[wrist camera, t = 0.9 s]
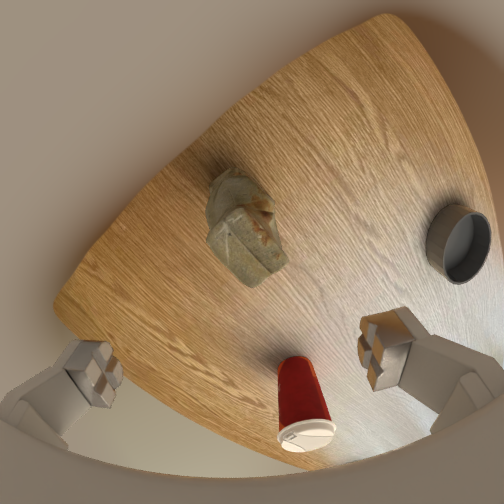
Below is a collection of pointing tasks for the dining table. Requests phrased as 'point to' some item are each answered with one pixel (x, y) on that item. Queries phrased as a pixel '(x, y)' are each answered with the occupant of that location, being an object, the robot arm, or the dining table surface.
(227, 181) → the sculpture
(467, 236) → the grey metal round dish
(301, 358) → the paper cup
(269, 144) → the dining table surface
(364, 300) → the dining table surface
